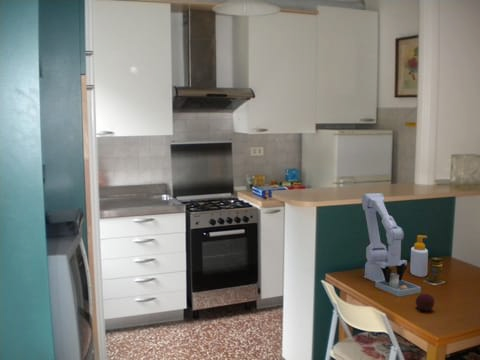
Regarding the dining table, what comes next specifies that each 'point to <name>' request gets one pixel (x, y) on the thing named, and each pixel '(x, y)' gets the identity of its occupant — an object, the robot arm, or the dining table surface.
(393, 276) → the shaker
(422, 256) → the soap bottle
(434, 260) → the condiment
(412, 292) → the tray
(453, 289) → the dining table surface
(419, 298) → the dark purple sphere
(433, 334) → the dining table surface
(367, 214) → the robot arm
